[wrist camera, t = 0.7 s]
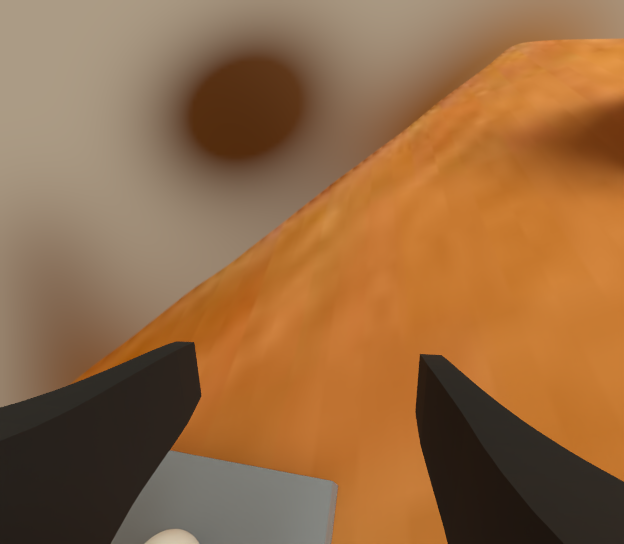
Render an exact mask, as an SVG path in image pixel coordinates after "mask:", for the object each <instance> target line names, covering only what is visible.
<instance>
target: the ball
mask: <svg viewBox="0 0 624 544" xmlns="http://www.w3.org/2000/svg"><path fill="white" fill-rule="evenodd" d="M145 544H199V542H198V541H197V539H196V538H195V537H194V536H193V535H192V534H190V533H189V532H187V531H185V530H182V529H169V530H165V531H162V532H160V533H158V534H156V535H154V536H153V537H152V538H150V539H149V540H148V541H147V542H146V543H145Z"/></svg>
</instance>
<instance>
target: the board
mask: <svg viewBox="0 0 624 544" xmlns="http://www.w3.org/2000/svg"><path fill="white" fill-rule="evenodd" d="M337 490H338V485H337V484H336V483H334V482H333V481H329V480H324V479H319V478H313V477H308V476H303V475H297V474H292V473H287V472H281V471H276V470H271V469H265V468H260V467H255V466H249V465H244V464H239V463H234V462H228V461H223V460H218V459H212V458H207V457H202V456H196V455H191V454H186V453H180V452H175V451H170V450H169V452H168V453H167V455H166V456H165V458H164V459H163V460H162V462H161V463H160V465H159V466H158V468H157V469H156V471H155V472H154V474H153V475H152V476H151V478H150V479H149V481H148V482H147V484H146V485H145V487H144V488H143V490H142V491H141V493H140V494H139V496H138V497H137V499H136V500H135V502H134V504H133V505H132V507H131V508H130V510H129V512H128V514H127V516H126V517H125V519H124V521H123V523H122V524H121V526H120V528H119V530H118V531H117V533H116V535H115V537H114V539H113V540H112V542H111V544H145V543H146V542H147V541H148V540H149V539H150V538H152V537H153V536H154V535H156V534H158V533H160V532H162V531H165V530H169V529H182V530H185V531H187V532H189V533H190V534H192V535H193V536H194V537H195V538H196V539H197V541H198V542H199V544H331V540H332V531H333V523H334V515H335V507H336V498H337Z"/></svg>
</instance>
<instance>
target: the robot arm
mask: <svg viewBox="0 0 624 544" xmlns="http://www.w3.org/2000/svg"><path fill="white" fill-rule="evenodd" d="M200 398H201V389H200V382H199V374H198V367H197V359H196V352H195V345H194V342H174V343H170V344H168V345H165V346H162V347H160V348H157V349H155V350H152V351H150V352H148V353H145V354H143V355H141V356H138V357H136V358H134V359H132V360H129V361H127V362H125V363H122V364H120V365H118V366H115V367H113V368H111V369H108V370H106V371H103V372H101V373H98V374H96V375H93V376H91V377H89V378H86V379H84V380H81V381H79V382H76V383H74V384H71V385H68V386H66V387H63V388H60V389H58V390H55V391H52V392H49V393H46V394H43V395H40V396H37V397H34V398H31V399H28V400H25V401H22V402H19V403H15V404H11V405H8V406H4V407H1V408H0V544H111V542H112V540H113V539H114V537H115V535H116V533H117V531H118V530H119V528H120V526H121V524H122V523H123V521H124V519H125V517H126V516H127V514H128V512H129V510H130V508H131V507H132V505H133V504H134V502H135V500H136V499H137V497H138V496H139V494H140V493H141V491H142V490H143V488H144V487H145V485H146V484H147V482H148V481H149V479H150V478H151V476H152V475H153V474H154V472H155V471H156V469H157V468H158V466H159V465H160V463H161V462H162V460H163V459H164V458H165V456H166V455H167V453H168V452H169V450H170V449H171V447H172V446H173V444H174V443H175V442H176V440H177V439H178V437H179V436H180V434H181V433H182V431H183V430H184V428H185V427H186V425H187V423H188V422H189V420H190V418H191V416H192V414H193V412H194V410H195V408H196V406H197V404H198V402H199V400H200ZM416 419H417V426H418V432H419V438H420V444H421V448H422V452H423V455H424V459H425V463H426V466H427V470H428V473H429V477H430V480H431V484H432V487H433V491H434V494H435V498H436V501H437V505H438V508H439V512H440V516H441V519H442V523H443V526H444V530H445V534H446V538H447V542H448V544H624V482H623V481H621V480H619V479H618V478H616V477H614V476H612V475H610V474H609V473H607V472H605V471H603V470H601V469H600V468H598V467H596V466H594V465H592V464H591V463H589V462H587V461H585V460H584V459H582V458H580V457H579V456H577V455H575V454H573V453H572V452H570V451H568V450H567V449H565V448H564V447H562V446H560V445H559V444H557V443H556V442H554V441H553V440H551V439H550V438H548V437H546V436H545V435H543V434H542V433H540V432H539V431H537V430H536V429H534V428H533V427H531V426H530V425H528V424H527V423H525V422H524V421H522V420H521V419H520V418H518V417H517V416H516V415H514V414H513V413H512V412H510V411H509V410H507V409H506V408H505V407H503V406H502V405H501V404H499V403H498V402H497V401H496V400H494V399H493V398H492V397H491V396H489V395H488V394H487V393H486V392H484V391H483V390H482V389H481V388H479V387H478V386H477V385H476V384H475V383H473V382H472V381H471V380H470V379H469V378H468V377H466V376H465V375H464V374H463V373H462V372H461V371H460V370H458V369H457V368H456V367H455V366H454V365H453V364H451V363H450V362H449V361H448V360H447V359H446V358H444V357H443V356H442V355H426V354H420V361H419V374H418V386H417V399H416Z"/></svg>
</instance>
